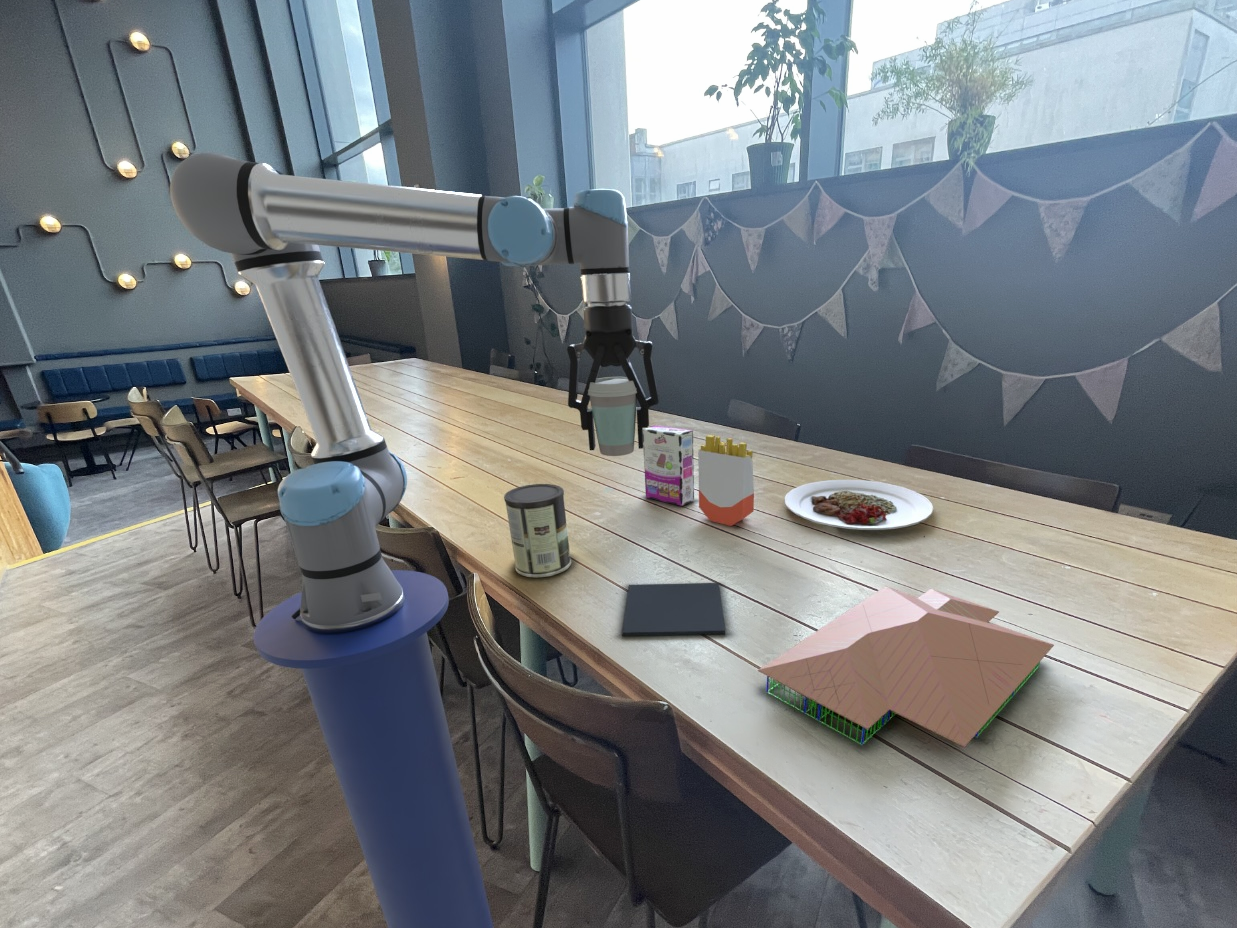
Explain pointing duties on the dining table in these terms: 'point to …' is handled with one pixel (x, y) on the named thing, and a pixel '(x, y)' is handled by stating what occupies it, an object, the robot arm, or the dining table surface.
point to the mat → (673, 610)
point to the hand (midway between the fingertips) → (616, 447)
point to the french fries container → (725, 481)
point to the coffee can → (538, 529)
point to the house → (910, 664)
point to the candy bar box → (669, 464)
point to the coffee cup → (614, 414)
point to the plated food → (858, 504)
